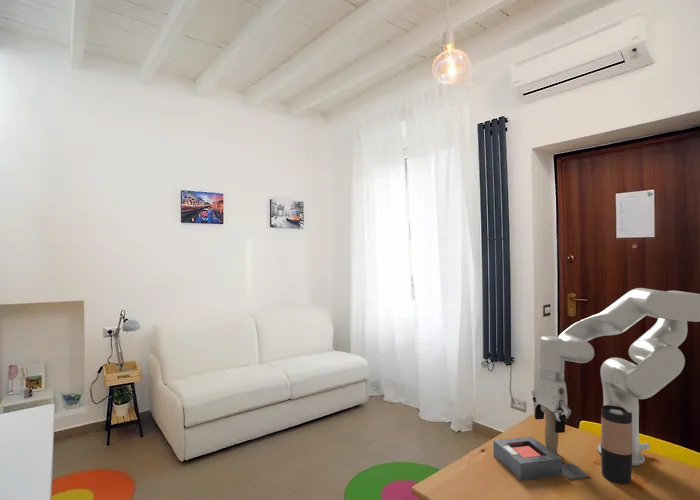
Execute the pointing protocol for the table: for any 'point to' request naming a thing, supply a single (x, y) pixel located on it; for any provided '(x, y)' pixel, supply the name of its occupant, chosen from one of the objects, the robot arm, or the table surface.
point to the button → (526, 451)
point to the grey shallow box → (527, 459)
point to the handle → (550, 430)
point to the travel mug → (616, 444)
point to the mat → (573, 472)
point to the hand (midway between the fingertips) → (549, 425)
